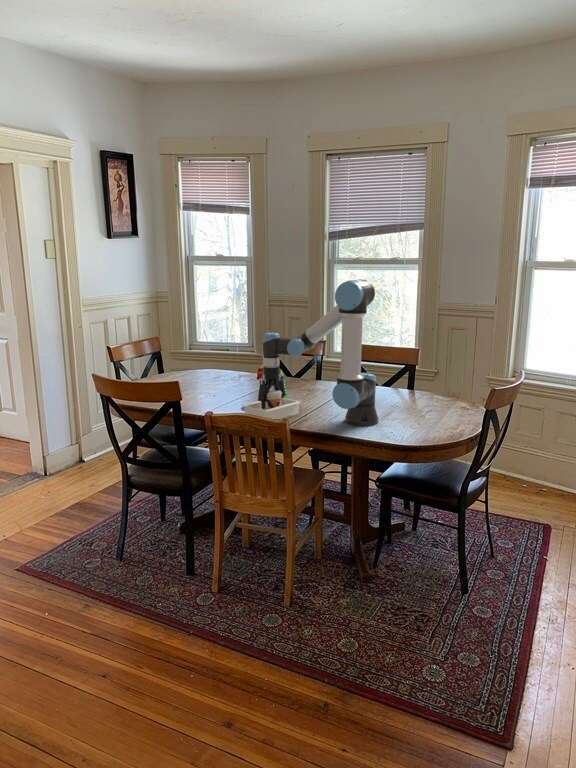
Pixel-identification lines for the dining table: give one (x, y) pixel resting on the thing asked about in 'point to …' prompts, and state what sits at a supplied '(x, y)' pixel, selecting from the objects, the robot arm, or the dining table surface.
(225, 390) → the dining table surface
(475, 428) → the dining table surface
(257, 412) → the white rectangular tray
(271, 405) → the coffee cup
